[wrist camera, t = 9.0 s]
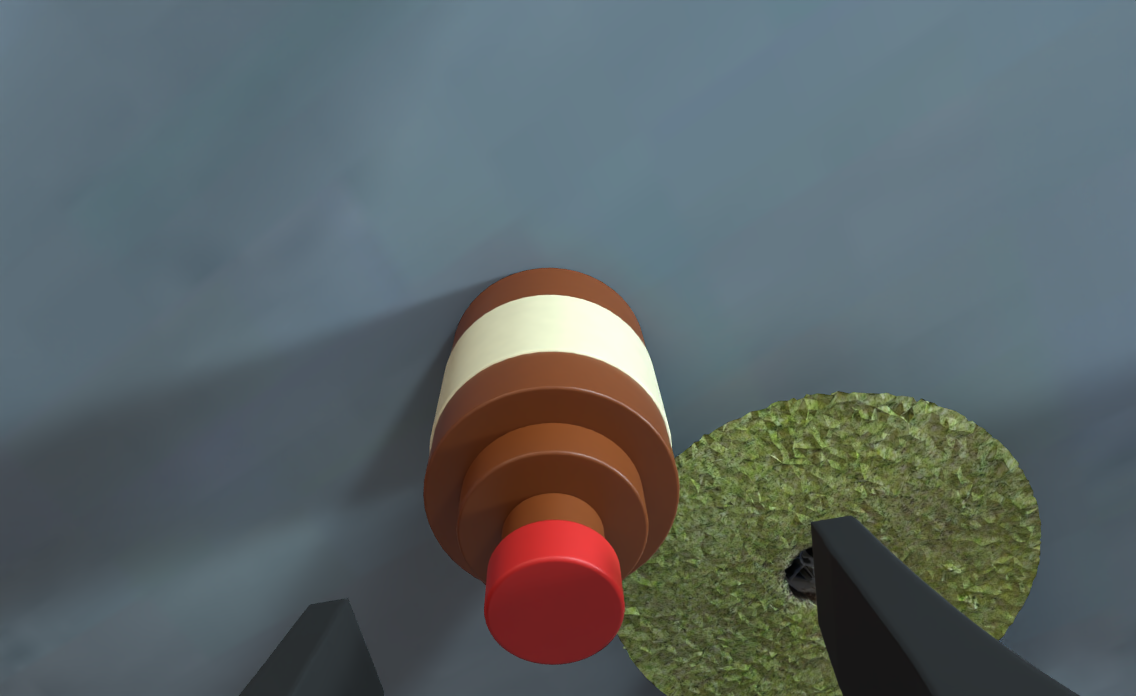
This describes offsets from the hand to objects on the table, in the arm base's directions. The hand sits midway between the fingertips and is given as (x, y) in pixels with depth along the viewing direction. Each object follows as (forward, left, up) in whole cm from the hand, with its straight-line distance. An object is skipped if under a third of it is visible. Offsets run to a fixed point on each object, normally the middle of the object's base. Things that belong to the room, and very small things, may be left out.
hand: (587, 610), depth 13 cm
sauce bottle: (0, 0, -9) cm, 9 cm away
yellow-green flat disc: (-9, +1, -9) cm, 13 cm away
